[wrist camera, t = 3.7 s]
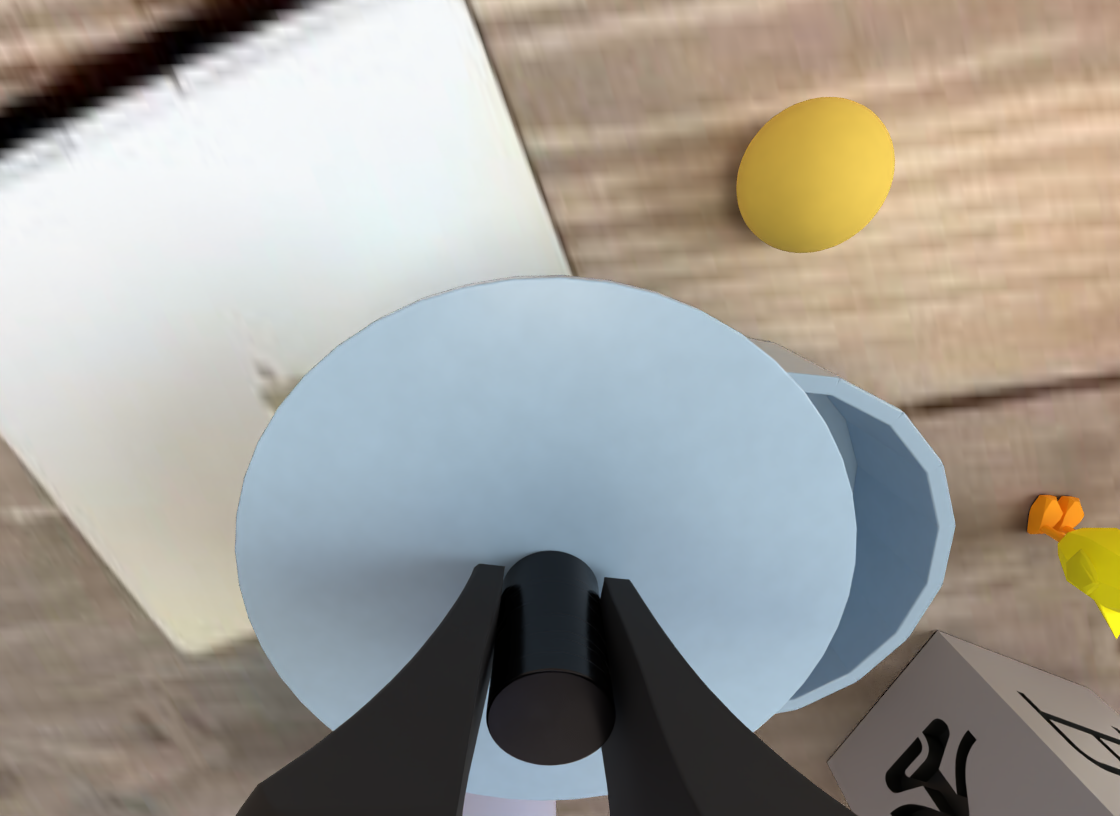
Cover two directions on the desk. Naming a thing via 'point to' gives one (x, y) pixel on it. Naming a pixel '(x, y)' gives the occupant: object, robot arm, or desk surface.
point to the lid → (546, 512)
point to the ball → (815, 174)
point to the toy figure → (1082, 552)
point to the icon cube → (981, 742)
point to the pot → (877, 524)
